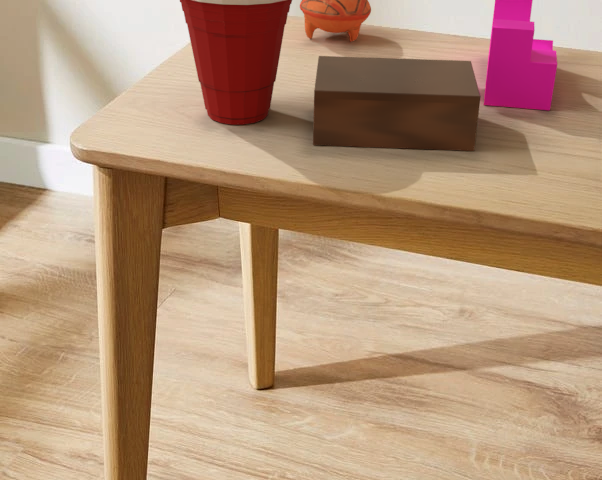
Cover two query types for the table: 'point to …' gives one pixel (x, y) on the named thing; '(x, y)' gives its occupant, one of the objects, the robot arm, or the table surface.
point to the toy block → (518, 60)
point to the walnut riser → (395, 103)
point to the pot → (335, 16)
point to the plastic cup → (236, 54)
